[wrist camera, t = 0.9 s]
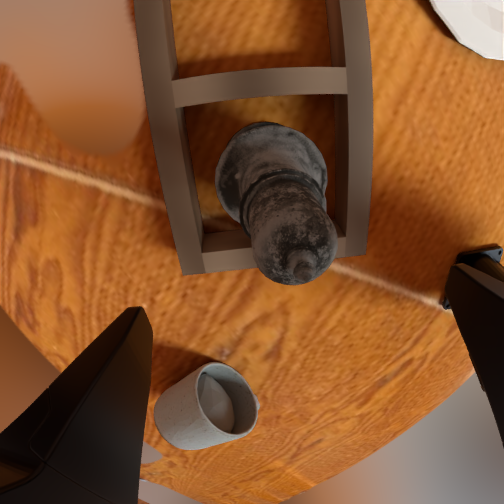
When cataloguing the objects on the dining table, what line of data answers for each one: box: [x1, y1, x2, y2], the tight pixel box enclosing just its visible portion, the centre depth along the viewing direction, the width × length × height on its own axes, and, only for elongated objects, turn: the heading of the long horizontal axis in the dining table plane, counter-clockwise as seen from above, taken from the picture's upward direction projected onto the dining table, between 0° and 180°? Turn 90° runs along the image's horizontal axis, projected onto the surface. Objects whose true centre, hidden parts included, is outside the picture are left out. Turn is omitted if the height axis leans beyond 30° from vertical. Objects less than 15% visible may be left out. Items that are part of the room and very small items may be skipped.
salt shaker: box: [215, 122, 338, 285], centre depth 14 cm, size 6×6×12 cm
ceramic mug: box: [154, 362, 260, 450], centre depth 27 cm, size 11×8×8 cm
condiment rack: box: [134, 0, 373, 275], centre depth 15 cm, size 12×22×2 cm, turn 5°
